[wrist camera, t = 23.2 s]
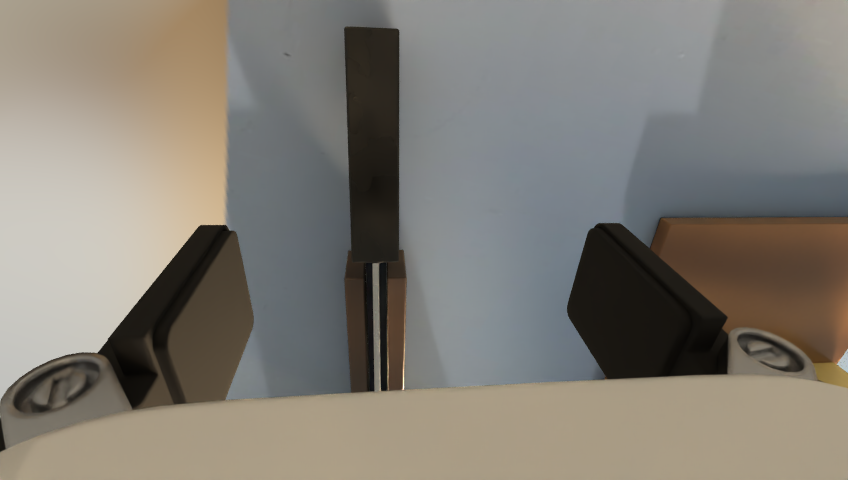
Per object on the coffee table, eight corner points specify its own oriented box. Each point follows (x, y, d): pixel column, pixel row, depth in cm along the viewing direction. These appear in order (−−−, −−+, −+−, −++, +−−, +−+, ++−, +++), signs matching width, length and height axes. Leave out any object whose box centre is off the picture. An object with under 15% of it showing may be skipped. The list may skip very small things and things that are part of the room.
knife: (395, 438, 27) (398, 494, 23) (362, 440, 27) (359, 497, 23) (395, 47, 20) (399, 28, 16) (351, 45, 20) (343, 25, 16)
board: (660, 217, 24) (670, 224, 23) (918, 216, 26) (937, 222, 25) (584, 435, 34) (589, 446, 33) (778, 422, 36) (788, 432, 35)
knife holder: (348, 250, 23) (344, 278, 21) (403, 249, 24) (406, 277, 21) (357, 424, 30) (355, 462, 28) (400, 421, 31) (402, 459, 28)
